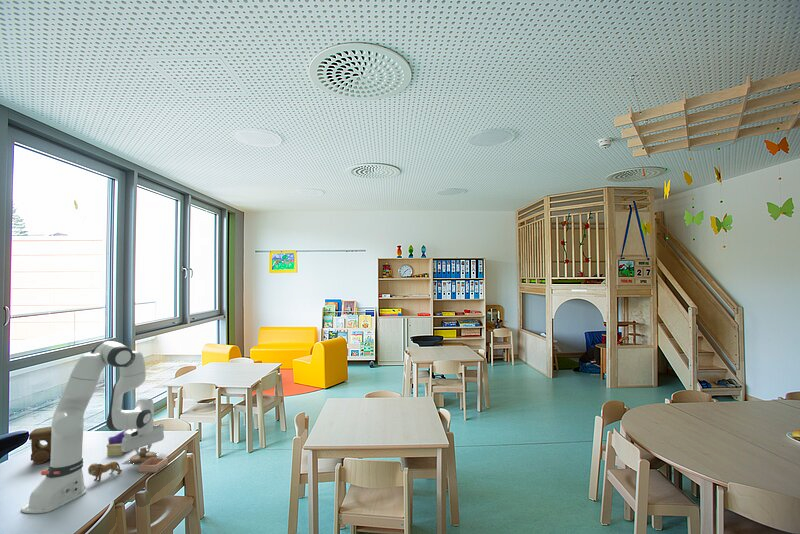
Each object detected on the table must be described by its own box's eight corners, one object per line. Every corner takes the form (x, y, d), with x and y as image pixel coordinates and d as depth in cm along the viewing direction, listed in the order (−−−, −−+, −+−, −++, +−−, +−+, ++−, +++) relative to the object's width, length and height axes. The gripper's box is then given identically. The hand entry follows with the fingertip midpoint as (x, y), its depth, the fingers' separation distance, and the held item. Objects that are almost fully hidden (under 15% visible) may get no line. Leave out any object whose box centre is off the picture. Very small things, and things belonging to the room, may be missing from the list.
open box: (155, 473, 195) (155, 466, 195) (138, 472, 195) (138, 465, 195) (167, 464, 204) (167, 457, 204) (150, 464, 204) (151, 457, 204)
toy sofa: (121, 456, 213) (122, 438, 214) (105, 456, 213) (106, 438, 214) (145, 441, 234) (146, 424, 235) (131, 441, 234) (132, 424, 234)
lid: (145, 463, 204) (145, 453, 204) (123, 463, 204) (124, 452, 205) (160, 453, 216) (160, 444, 216) (140, 453, 216) (140, 443, 217)
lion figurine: (90, 486, 182) (91, 466, 183) (85, 483, 185) (85, 464, 185) (124, 472, 195) (125, 454, 196) (118, 470, 198) (119, 452, 198)
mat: (146, 465, 203) (146, 464, 203) (120, 464, 203) (121, 464, 203) (163, 453, 217) (163, 453, 217) (140, 453, 217) (140, 452, 217)
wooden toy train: (26, 467, 201) (28, 435, 201) (34, 458, 211) (35, 427, 211) (75, 458, 210) (76, 428, 211) (80, 450, 220) (81, 421, 221)
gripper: (161, 421, 221) (160, 446, 221) (120, 433, 204) (119, 459, 203) (166, 423, 218) (165, 448, 217) (125, 435, 201) (124, 462, 200)
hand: (142, 454), depth 210 cm, fingers closed on lid, 3 cm apart
